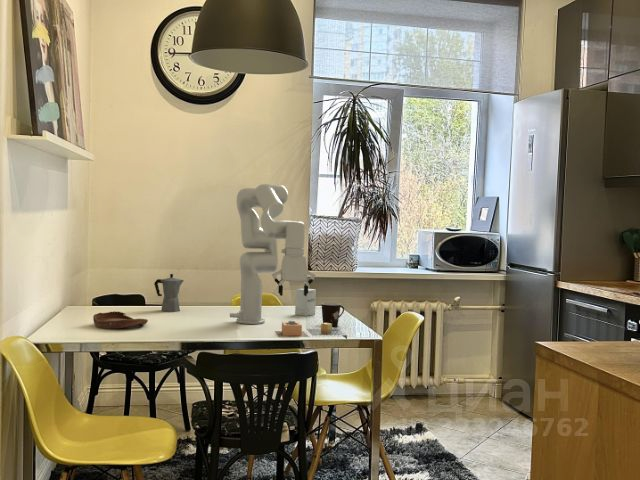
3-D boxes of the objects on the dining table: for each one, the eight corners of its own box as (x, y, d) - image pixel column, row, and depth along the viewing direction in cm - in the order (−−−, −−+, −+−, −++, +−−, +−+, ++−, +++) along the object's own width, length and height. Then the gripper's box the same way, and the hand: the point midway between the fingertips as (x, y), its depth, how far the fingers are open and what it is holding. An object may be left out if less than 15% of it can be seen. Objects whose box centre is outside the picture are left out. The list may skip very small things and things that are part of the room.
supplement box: (306, 316, 324) (307, 290, 323) (294, 314, 328) (295, 288, 328) (315, 314, 330) (316, 289, 329) (303, 313, 334) (304, 287, 334)
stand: (278, 340, 259) (278, 323, 259) (274, 334, 271) (275, 318, 270) (308, 340, 261) (309, 323, 261) (303, 334, 273) (304, 319, 273)
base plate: (312, 338, 265) (312, 326, 264) (306, 332, 278) (306, 320, 278) (346, 338, 267) (347, 326, 267) (339, 332, 281) (339, 320, 281)
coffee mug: (323, 328, 291) (324, 305, 291) (318, 324, 299) (319, 302, 299) (348, 327, 294) (349, 305, 294) (342, 324, 303) (343, 302, 302)
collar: (283, 335, 262) (284, 325, 262) (281, 332, 269) (281, 322, 269) (301, 335, 263) (301, 325, 263) (298, 332, 270) (299, 322, 270)
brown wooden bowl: (157, 325, 283) (157, 314, 283) (128, 333, 264) (129, 320, 264) (113, 321, 291) (113, 309, 291) (82, 327, 272) (82, 315, 272)
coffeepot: (178, 308, 334) (179, 272, 333) (187, 311, 326) (188, 274, 326) (149, 310, 324) (150, 273, 323) (158, 313, 317) (159, 275, 316)
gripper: (273, 252, 259) (272, 296, 260) (317, 253, 263) (316, 296, 263) (271, 251, 267) (270, 294, 267) (314, 252, 270) (312, 294, 270)
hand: (293, 295), depth 265 cm, fingers open, 9 cm apart
